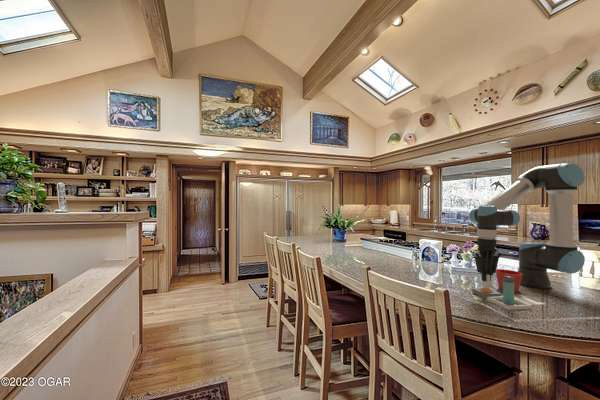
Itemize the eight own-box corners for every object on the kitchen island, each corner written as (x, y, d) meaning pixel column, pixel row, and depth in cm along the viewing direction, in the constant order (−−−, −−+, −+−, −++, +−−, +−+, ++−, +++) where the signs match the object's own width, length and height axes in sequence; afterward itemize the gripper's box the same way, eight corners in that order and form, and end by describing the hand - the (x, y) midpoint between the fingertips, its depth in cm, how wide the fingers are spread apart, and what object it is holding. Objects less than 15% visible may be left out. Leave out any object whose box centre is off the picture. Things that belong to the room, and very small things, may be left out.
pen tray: (509, 301, 123) (509, 296, 123) (531, 310, 113) (531, 305, 113) (487, 301, 122) (487, 296, 122) (507, 311, 111) (507, 306, 111)
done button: (486, 294, 131) (487, 286, 131) (494, 297, 126) (494, 289, 126) (478, 294, 130) (478, 287, 130) (485, 297, 126) (485, 290, 126)
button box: (487, 294, 133) (487, 287, 133) (501, 299, 125) (501, 293, 125) (472, 294, 132) (472, 288, 132) (485, 300, 124) (485, 293, 124)
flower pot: (512, 287, 143) (512, 269, 143) (527, 294, 132) (527, 274, 132) (490, 286, 144) (491, 268, 144) (504, 293, 133) (504, 274, 133)
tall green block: (508, 302, 119) (508, 275, 120) (516, 306, 116) (516, 278, 116) (500, 303, 119) (500, 275, 119) (508, 306, 115) (508, 278, 115)
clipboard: (521, 295, 131) (521, 293, 131) (550, 306, 117) (550, 304, 117) (498, 296, 130) (498, 293, 130) (525, 307, 116) (525, 304, 116)
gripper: (493, 237, 133) (492, 285, 133) (468, 237, 131) (467, 285, 131) (506, 239, 125) (505, 290, 125) (480, 239, 124) (479, 290, 124)
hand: (486, 287), depth 128 cm, fingers closed
